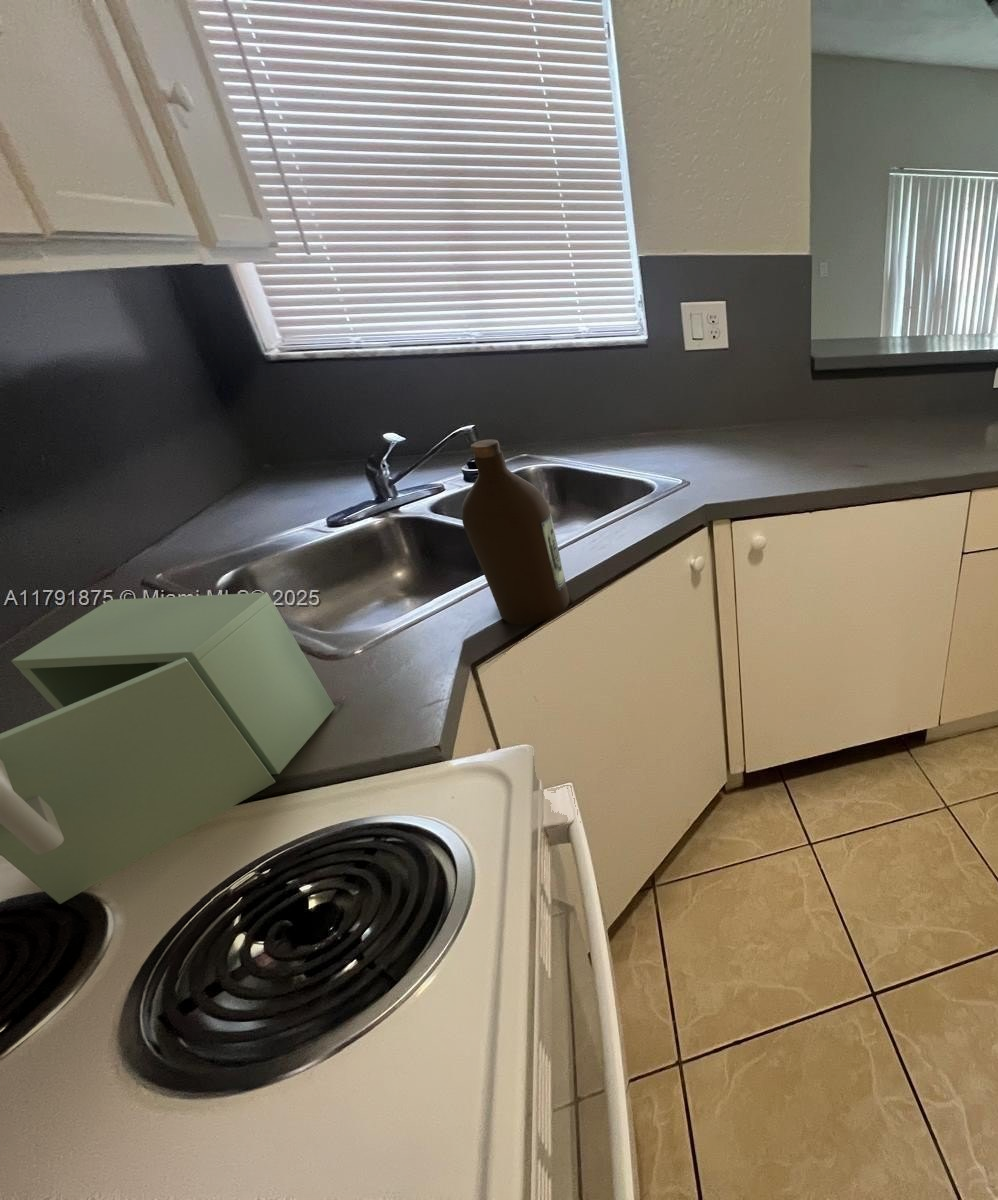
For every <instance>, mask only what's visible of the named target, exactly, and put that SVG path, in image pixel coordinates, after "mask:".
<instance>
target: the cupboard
mask: <svg viewBox="0 0 998 1200" xmlns="http://www.w3.org/2000/svg"><path fill="white" fill-rule="evenodd" d="M280 613H281V612H279V610H278V608H277V606H276V604H275V603H274V602H273V600H272V598H271V597H270V595H269V594H268V592H251V593H250V592H249V593H248V592H247V593H230V594H209V595H208V594H207V595H187V596H186V595H185V596H164V597H141V598H121V599H119V598H118V599H109V600H107V601H105V602H104V603H102V604H100V605H98V606H97V607H95V608H94V609H93V610H91V611H89V612H88V613H86V614H84V615H83V616H81V617H80V618H77V619H76V620H74V621H73V622H71V623H70V624H68V625H66V626H65V627H63V628H62V629H59V630H58V631H57V632H55V633H53V634H52V635H50V636H49V637H47V638H45V639H43V640H42V641H41V642H38V643H37V644H36V645H34V646H33V647H31V648H29V649H28V650H26V651H24V652H23V653H21V654H20V655H18V656H16V657H14V658H13V659H11V661H10V662H11V663H12V664H13V665H14V666H15V667H16V668H17V670H18V671H19V672H20V673H21V674H22V675H23V676H24V677H25V679H26V680H28V681H29V682H30V684H31V685H32V686H33V687H34V688H35V689H36V691H38V692H39V693H40V695H42V697H43V698H44V699H45V700H46V701H47V702H48V704H50V706H52V708H54V709H55V711H56V710H59V709H61V708H64V707H66V706H68V705H71V704H73V703H76V702H78V701H80V700H83V699H85V698H88V697H90V696H93V695H95V694H97V693H100V692H102V691H105V690H107V689H109V688H112V687H114V686H117V685H119V684H121V683H124V682H126V681H129V680H131V679H133V678H136V677H138V676H141V675H143V674H145V673H148V672H150V671H153V670H155V669H158V668H160V667H162V666H165V665H167V664H170V663H172V662H174V661H177V660H179V659H182V658H186V659H187V660H188V662H189V663H190V664H191V666H192V667H193V668H194V670H195V671H196V673H197V674H198V675H199V677H200V678H201V680H202V681H203V682H204V684H205V685H206V686H207V688H208V689H209V691H210V692H211V693H212V695H213V696H214V697H215V699H216V700H217V702H218V703H219V704H220V706H221V707H222V709H223V710H224V711H225V713H226V714H227V715H228V717H229V718H230V720H231V721H232V722H233V724H234V725H235V726H236V728H237V729H238V731H239V732H240V733H241V735H242V736H243V738H244V739H245V740H246V742H247V743H248V744H249V746H250V747H251V749H252V750H253V751H254V753H255V754H256V755H257V757H258V758H259V760H260V761H261V762H262V764H263V765H264V767H265V768H266V769H267V771H268V772H269V773H270V775H271V776H272V775H280V773H282V771H283V770H284V769H285V768H286V766H287V765H288V764H289V763H290V762H291V761H292V760H293V758H294V757H295V756H296V755H297V754H298V752H299V751H300V750H301V749H302V747H303V746H304V745H305V744H306V743H307V742H308V740H309V739H310V738H311V737H312V736H313V735H314V733H316V731H317V730H318V729H319V728H320V726H321V725H322V724H323V723H324V722H325V720H326V719H327V718H328V717H329V716H330V714H331V713H332V712H333V711H334V710H335V709H336V706H335V705H334V703H333V701H332V699H331V698H330V696H329V694H328V693H327V691H326V689H325V688H324V686H323V684H322V683H321V680H320V679H319V677H318V675H317V674H316V672H315V671H314V669H313V668H312V665H311V664H310V662H309V661H308V659H307V658H306V656H305V654H304V651H302V649H301V646H300V645H299V643H298V642H297V640H296V638H295V637H294V635H293V633H292V632H291V630H290V628H289V627H288V625H287V623H286V622H285V620H284V618H283V617H282V615H281V614H280Z"/></svg>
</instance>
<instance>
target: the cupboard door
mask: <svg viewBox="0 0 998 1200" xmlns="http://www.w3.org/2000/svg"><path fill="white" fill-rule="evenodd" d="M275 783H276V780H275V779H274V777H273V776H272V775H270V773H269V772H268V771H267V769H266V768H265V767H264V765H263V764H262V762H261V761H260V760H259V758H258V757H257V755H256V754H255V753H254V751H253V750H252V749H251V747H250V746H249V744H248V743H247V742H246V740H245V739H244V738H243V736H242V735H241V733H240V732H239V731H238V729H237V728H236V726H235V725H234V724H233V722H232V721H231V720H230V718H229V717H228V715H227V714H226V713H225V711H224V710H223V709H222V707H221V706H220V704H219V703H218V702H217V700H216V699H215V697H214V696H213V695H212V693H211V692H210V691H209V689H208V688H207V686H206V685H205V684H204V682H203V681H202V680H201V678H200V677H199V675H198V674H197V673H196V671H195V670H194V668H193V667H192V666H191V664H190V663H189V662H188V660H187V659H186V658H182V659H179V660H177V661H174V662H172V663H170V664H167V665H165V666H162V667H160V668H158V669H155V670H153V671H150V672H148V673H145V674H143V675H141V676H138V677H136V678H133V679H131V680H129V681H126V682H124V683H121V684H119V685H117V686H114V687H112V688H109V689H107V690H105V691H102V692H100V693H97V694H95V695H93V696H90V697H88V698H85V699H83V700H80V701H78V702H76V703H73V704H71V705H68V706H66V707H64V708H61V709H59V710H56V709H55V711H51V712H49V713H47V714H45V715H42V716H40V717H38V718H35V719H33V720H30V721H28V722H26V723H25V722H24V723H23V724H21V725H20V724H19V725H18V726H15V727H13V728H11V729H8V730H6V731H4V732H0V856H1V857H3V858H4V859H5V860H6V861H7V862H9V864H11V865H12V866H13V867H15V868H16V869H17V870H18V871H19V872H20V873H22V874H23V875H24V876H25V877H27V878H28V879H29V880H30V881H31V882H33V884H35V885H36V886H37V887H38V888H40V889H41V890H42V891H43V892H44V893H46V895H48V896H49V897H50V898H51V899H52V900H53V901H55V902H56V903H57V904H58V905H61V904H63V903H65V902H67V901H68V900H71V899H72V898H74V897H75V896H77V895H79V894H81V893H82V892H84V891H86V890H87V889H89V888H91V887H93V886H95V885H96V884H98V883H100V882H102V881H104V880H105V879H107V878H109V877H111V876H112V875H114V874H117V873H118V872H120V871H122V870H123V869H125V868H126V867H128V866H130V865H131V864H133V863H135V862H137V861H139V860H141V859H143V858H144V857H146V856H148V855H150V854H152V853H153V852H155V851H157V850H158V849H160V848H162V847H164V846H165V845H168V844H169V843H170V842H172V841H174V840H176V839H178V838H179V837H182V836H183V835H186V834H187V833H189V832H190V831H192V830H194V829H195V828H198V827H200V826H202V825H203V824H204V823H206V822H208V821H210V820H211V819H213V818H215V817H217V816H219V815H220V814H222V813H224V812H225V811H227V810H230V809H232V808H233V807H235V806H237V805H238V804H240V803H241V802H243V801H244V800H247V799H248V798H250V797H252V796H254V795H255V794H257V793H259V792H261V791H263V790H265V789H266V788H268V787H270V786H272V785H273V784H275Z"/></svg>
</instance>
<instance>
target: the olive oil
mask: <svg viewBox="0 0 998 1200" xmlns="http://www.w3.org/2000/svg"><path fill="white" fill-rule="evenodd" d="M500 447H501V446H500V443H499V441H498V440H497V439H483V440H478V441H475V442H473V443H471V445H470V448H471V451H472V453H473V460H474V463H475V466H476V470H477V472H478V476H477V477H476V480H475V481H474V482H473V484H472V486H471V488H470V489H469V491H468V492H467V494H466V496H465V498H464V499H463V502H462V506H461V522H462V526H463V528H464V531H465V533H466V536H467V538H468V540H469V543H470V545H471V547H472V549H473V553H474V554H475V556H476V559H477V561H478V563H479V566H480V568H481V570H482V573H483V576H484V578H485V580H486V582H487V585H488V587H489V591H490V592H491V594H492V597H493V599H494V602H495V605H496V607H497V610H498V612H499V615H500V617H501V619H502V620H503V621H505V623H509V624H512V625H520V626H521V625H522V626H523V625H533V624H537V623H541V622H544V621H547V620H550V619H552V618H555V616H557V615H559V614H560V613H562V612H563V611H564V610H565V609H566V608H568V605H569V604H570V594H569V591H568V587H567V582H566V578H565V573H564V569H563V564H562V560H561V555H560V550H559V545H558V542H557V537H556V531H555V525H554V522H553V517H552V512H551V508H550V505H549V503H548V501H547V500H546V498H545V496H544V494H543V493H542V492H541V491H540V489H539V488H538V487H536V486H535V485H534V484H532V483H531V482H529V481H527V480H526V479H524V478H522V477H520V476H519V475H517V474H515V473H514V472H512V471H511V470H509V469H508V467H507V463H506V460H505V456H504V452H503V451H502V450H501V448H500Z"/></svg>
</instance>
